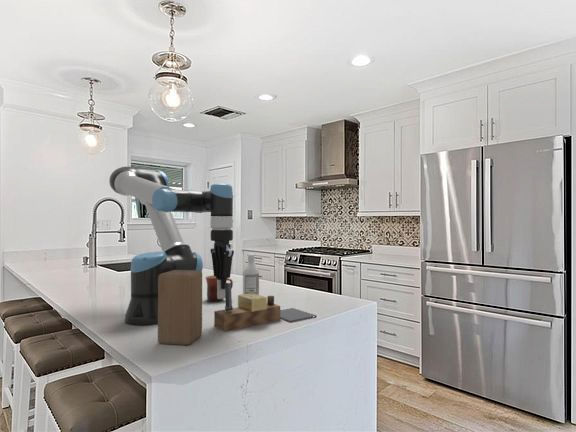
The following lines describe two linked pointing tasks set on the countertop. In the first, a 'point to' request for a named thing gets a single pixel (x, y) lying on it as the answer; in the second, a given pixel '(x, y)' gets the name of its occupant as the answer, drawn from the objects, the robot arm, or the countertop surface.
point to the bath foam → (251, 277)
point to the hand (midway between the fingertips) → (221, 298)
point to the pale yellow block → (252, 302)
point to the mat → (294, 315)
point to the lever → (228, 297)
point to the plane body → (246, 316)
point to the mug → (213, 288)
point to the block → (179, 306)
